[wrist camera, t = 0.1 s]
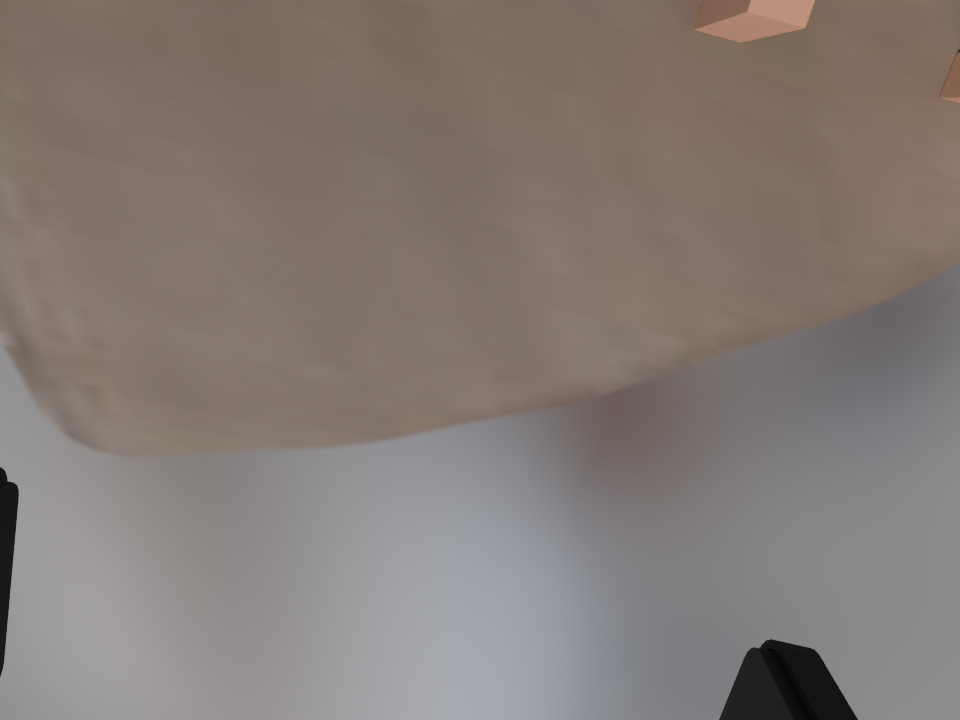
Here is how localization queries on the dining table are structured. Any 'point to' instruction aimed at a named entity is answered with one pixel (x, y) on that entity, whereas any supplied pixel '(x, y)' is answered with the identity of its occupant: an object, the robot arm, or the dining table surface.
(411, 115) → the dining table surface
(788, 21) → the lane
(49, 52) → the dining table surface
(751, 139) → the dining table surface
